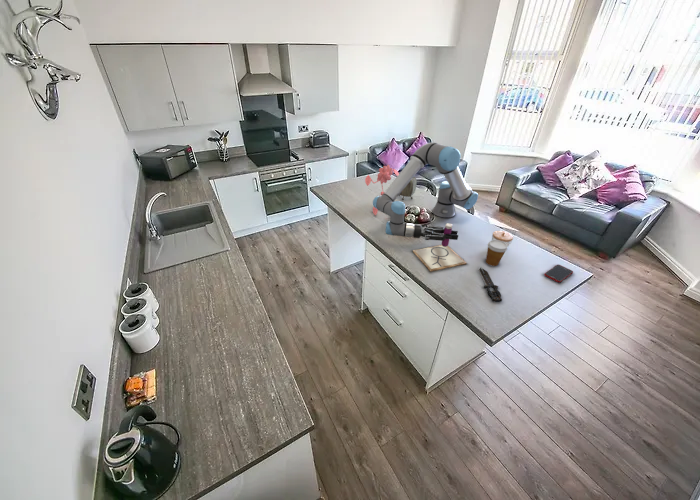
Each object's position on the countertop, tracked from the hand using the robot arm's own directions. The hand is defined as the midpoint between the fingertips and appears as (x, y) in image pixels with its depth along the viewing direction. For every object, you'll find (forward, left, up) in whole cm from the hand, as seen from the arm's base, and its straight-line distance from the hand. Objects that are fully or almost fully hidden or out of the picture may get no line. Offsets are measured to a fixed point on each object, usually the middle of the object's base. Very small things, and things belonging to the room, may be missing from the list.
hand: (457, 235), depth 156 cm
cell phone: (-41, +32, -13) cm, 53 cm away
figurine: (+18, -58, -13) cm, 62 cm away
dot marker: (+5, -3, -7) cm, 9 cm away
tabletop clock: (-8, -78, -13) cm, 79 cm away
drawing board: (+9, 0, -13) cm, 16 cm away
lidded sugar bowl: (-31, +1, -13) cm, 33 cm away
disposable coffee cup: (-16, +13, -13) cm, 24 cm away
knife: (-2, +27, -13) cm, 30 cm away
